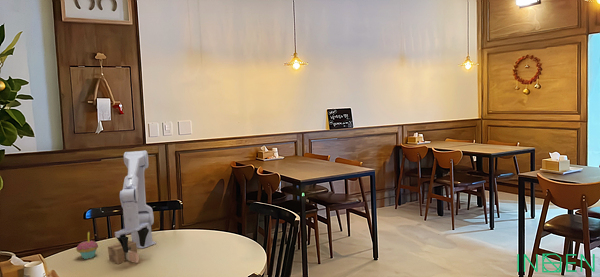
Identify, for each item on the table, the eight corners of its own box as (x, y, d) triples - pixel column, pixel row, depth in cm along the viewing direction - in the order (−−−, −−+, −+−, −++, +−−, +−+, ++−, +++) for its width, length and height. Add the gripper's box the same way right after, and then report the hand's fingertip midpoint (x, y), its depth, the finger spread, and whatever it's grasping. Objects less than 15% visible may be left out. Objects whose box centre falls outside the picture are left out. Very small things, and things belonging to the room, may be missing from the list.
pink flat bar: (119, 257, 191) (118, 248, 190) (122, 256, 192) (121, 248, 191) (136, 262, 183) (135, 254, 183) (139, 261, 184) (138, 253, 184)
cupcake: (103, 254, 196) (100, 228, 195) (87, 262, 189) (84, 234, 187) (89, 252, 200) (86, 226, 198) (73, 259, 192) (70, 232, 191)
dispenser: (109, 260, 189) (107, 246, 188) (128, 253, 196) (127, 240, 195) (119, 264, 184) (117, 249, 183) (138, 256, 191) (137, 243, 191)
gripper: (120, 223, 174) (123, 256, 176) (152, 214, 186) (155, 245, 187) (110, 221, 179) (114, 253, 180) (142, 211, 190) (145, 242, 192)
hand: (134, 249), depth 184 cm, fingers open, 7 cm apart
